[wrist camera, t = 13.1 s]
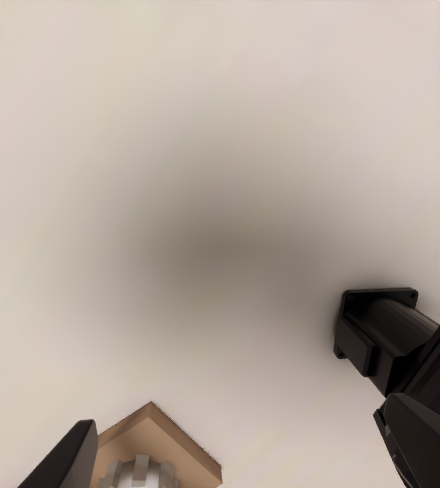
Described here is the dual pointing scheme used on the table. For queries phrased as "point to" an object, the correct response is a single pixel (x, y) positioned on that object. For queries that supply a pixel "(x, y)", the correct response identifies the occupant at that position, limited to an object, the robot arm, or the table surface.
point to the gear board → (151, 455)
